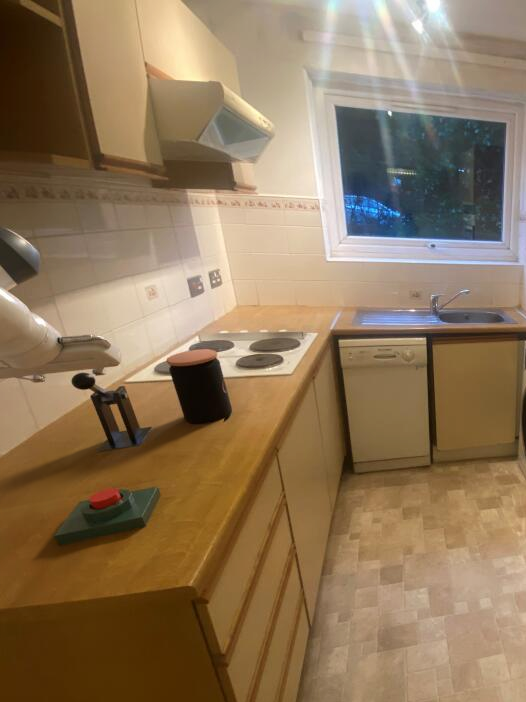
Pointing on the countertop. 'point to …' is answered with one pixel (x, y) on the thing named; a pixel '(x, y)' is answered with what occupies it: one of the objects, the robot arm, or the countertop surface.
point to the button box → (109, 516)
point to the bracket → (114, 436)
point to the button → (105, 498)
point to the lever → (92, 387)
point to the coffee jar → (200, 386)
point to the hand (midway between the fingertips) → (71, 375)
